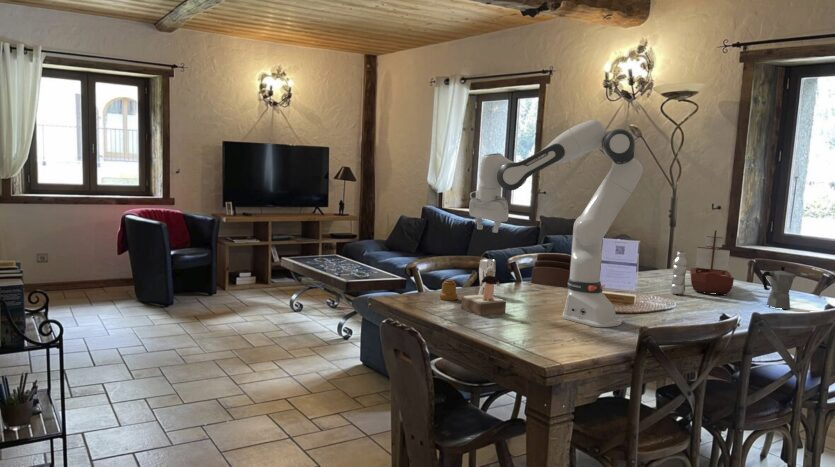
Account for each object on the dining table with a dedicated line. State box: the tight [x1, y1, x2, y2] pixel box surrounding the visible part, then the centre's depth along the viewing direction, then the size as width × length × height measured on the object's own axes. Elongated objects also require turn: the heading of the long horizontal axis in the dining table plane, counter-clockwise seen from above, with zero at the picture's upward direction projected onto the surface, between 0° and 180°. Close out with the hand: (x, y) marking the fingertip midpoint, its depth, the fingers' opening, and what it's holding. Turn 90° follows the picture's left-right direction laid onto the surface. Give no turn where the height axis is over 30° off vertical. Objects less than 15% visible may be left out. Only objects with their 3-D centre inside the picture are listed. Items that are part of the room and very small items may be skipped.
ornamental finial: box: [439, 279, 459, 302], centre depth 263 cm, size 8×8×8 cm
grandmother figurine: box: [479, 267, 501, 300], centre depth 242 cm, size 8×4×13 cm, turn 112°
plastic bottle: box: [670, 250, 689, 296], centre depth 295 cm, size 6×7×20 cm
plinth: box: [460, 294, 507, 317], centre depth 245 cm, size 12×12×5 cm
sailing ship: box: [689, 229, 735, 295], centre depth 312 cm, size 18×40×29 cm, turn 158°
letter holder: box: [530, 253, 571, 289], centre depth 306 cm, size 10×20×14 cm, turn 66°
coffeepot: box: [761, 266, 798, 310], centre depth 277 cm, size 15×9×18 cm, turn 92°
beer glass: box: [478, 258, 496, 295], centre depth 274 cm, size 7×7×15 cm
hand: (487, 230), depth 250 cm, fingers open, 8 cm apart
